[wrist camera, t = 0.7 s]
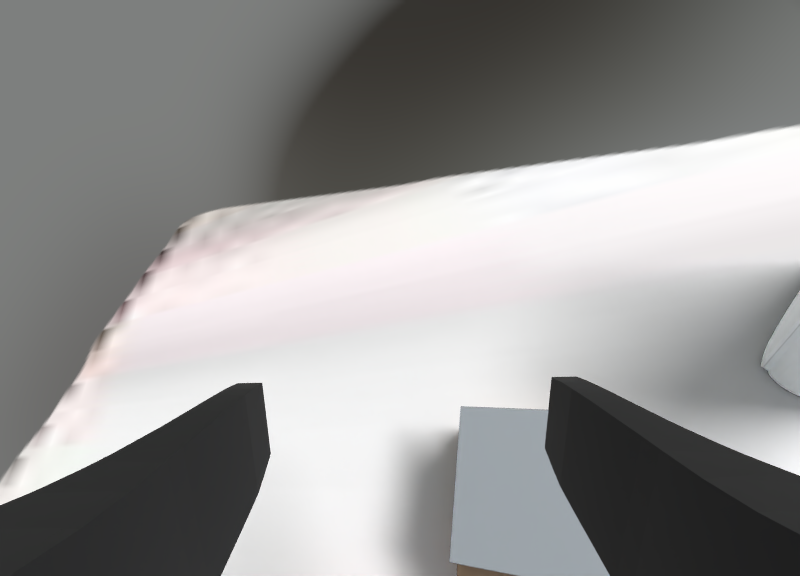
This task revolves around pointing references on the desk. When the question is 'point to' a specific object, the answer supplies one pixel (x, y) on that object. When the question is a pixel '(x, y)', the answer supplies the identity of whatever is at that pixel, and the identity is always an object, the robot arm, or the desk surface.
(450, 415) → the desk surface
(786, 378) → the photo printer
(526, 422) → the grey slab
